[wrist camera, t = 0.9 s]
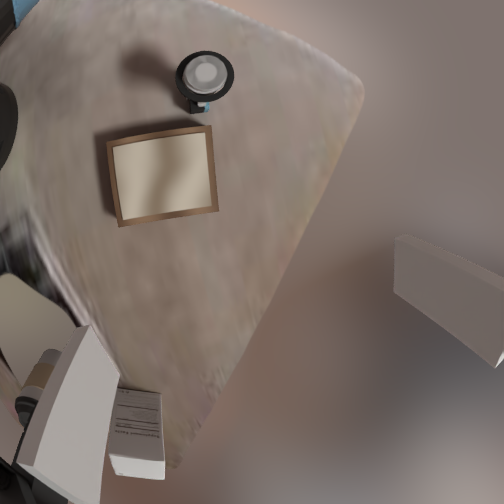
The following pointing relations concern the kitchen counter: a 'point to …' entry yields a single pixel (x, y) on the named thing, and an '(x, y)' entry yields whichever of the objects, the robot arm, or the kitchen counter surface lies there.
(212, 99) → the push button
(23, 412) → the coffee cup
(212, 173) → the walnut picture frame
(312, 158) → the kitchen counter surface
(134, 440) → the supplement box
